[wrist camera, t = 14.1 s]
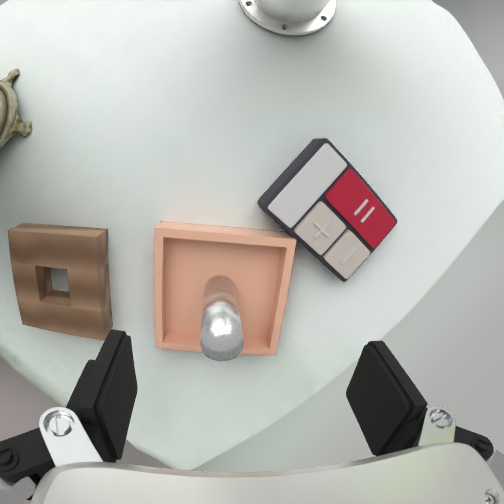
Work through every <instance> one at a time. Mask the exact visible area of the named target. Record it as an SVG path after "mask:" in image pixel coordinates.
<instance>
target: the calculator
mask: <svg viewBox="0 0 504 504" xmlns="http://www.w3.org/2000/svg"><path fill="white" fill-rule="evenodd" d="M258 205H259V206H260V207H261V208H262V209H263V210H264V211H265V212H266V213H267V214H268V215H269V216H271V217H272V218H273V219H274V220H275V221H276V222H277V223H279V224H280V225H281V226H282V227H283V228H284V229H285V230H286V231H288V232H289V233H290V234H291V235H292V236H293V237H294V238H295V239H297V240H298V241H299V242H300V243H301V244H302V245H303V246H304V247H305V248H307V249H308V250H309V251H310V252H311V253H312V254H313V255H314V256H315V257H316V258H318V259H319V260H320V261H321V262H322V263H323V264H324V265H325V266H326V267H327V268H329V269H330V270H331V271H332V272H333V273H334V274H335V275H336V276H337V277H338V278H339V279H340V280H342V281H343V282H345V281H347V280H348V278H349V277H350V276H351V275H352V274H353V273H354V272H355V271H356V270H357V269H358V268H359V266H360V265H361V264H362V263H363V262H364V261H365V260H366V259H367V257H368V256H369V255H370V254H371V253H372V252H373V251H374V250H375V248H376V247H377V246H378V245H379V244H380V243H381V241H382V240H383V239H384V238H385V237H386V236H387V234H388V233H389V232H390V231H391V230H392V228H393V227H394V226H395V225H396V224H397V219H396V218H395V216H394V215H393V214H392V213H391V211H390V210H389V209H388V207H387V206H386V205H385V204H384V203H383V201H382V200H381V199H380V198H379V196H378V195H377V194H376V193H375V192H374V190H373V189H372V188H371V187H370V186H369V184H368V183H367V182H366V181H365V180H364V179H363V177H362V176H361V175H360V174H359V173H358V172H357V171H356V169H355V168H354V167H353V166H352V165H351V164H350V163H349V162H348V161H347V159H346V158H345V157H344V156H343V155H342V154H341V153H340V152H339V151H338V150H337V149H336V148H335V147H334V145H333V144H332V143H331V142H330V141H329V140H328V139H325V138H322V139H313V140H312V141H311V142H310V144H309V145H308V146H307V147H306V148H305V149H304V150H303V151H302V152H301V153H300V154H299V155H298V157H297V158H296V159H295V160H294V161H293V162H292V163H291V164H290V165H289V166H288V168H287V169H286V170H285V171H284V172H283V173H282V174H281V175H280V176H279V177H278V179H277V180H276V181H275V182H274V183H273V184H272V185H271V186H270V187H269V189H268V190H267V191H266V192H265V193H264V194H263V195H262V196H261V197H260V199H259V200H258Z"/></svg>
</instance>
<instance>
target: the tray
mask: <svg viewBox="0 0 504 504" xmlns="http://www.w3.org/2000/svg"><path fill="white" fill-rule="evenodd" d="M296 241H297V240H296V239H295V238H294V237H293V236H292V235H291V234H290V233H289V232H279V231H269V230H258V229H247V228H236V227H225V226H214V225H202V224H190V223H177V222H164V221H160V222H159V224H158V225H157V226H156V227H155V242H154V324H155V348H161V349H171V350H182V351H194V352H203V351H202V349H201V346H200V337H201V323H202V310H203V298H204V287H205V284H206V282H207V281H208V280H209V279H210V278H212V277H214V276H219V275H221V276H226V277H228V278H230V279H231V280H232V281H233V282H234V284H235V287H236V293H237V300H238V307H239V314H240V320H241V327H242V334H243V340H244V346H243V349H242V351H241V353H240V354H246V355H276V352H277V347H278V341H279V336H280V331H281V326H282V321H283V315H284V310H285V305H286V299H287V294H288V288H289V282H290V276H291V271H292V265H293V259H294V253H295V247H296Z"/></svg>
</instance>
